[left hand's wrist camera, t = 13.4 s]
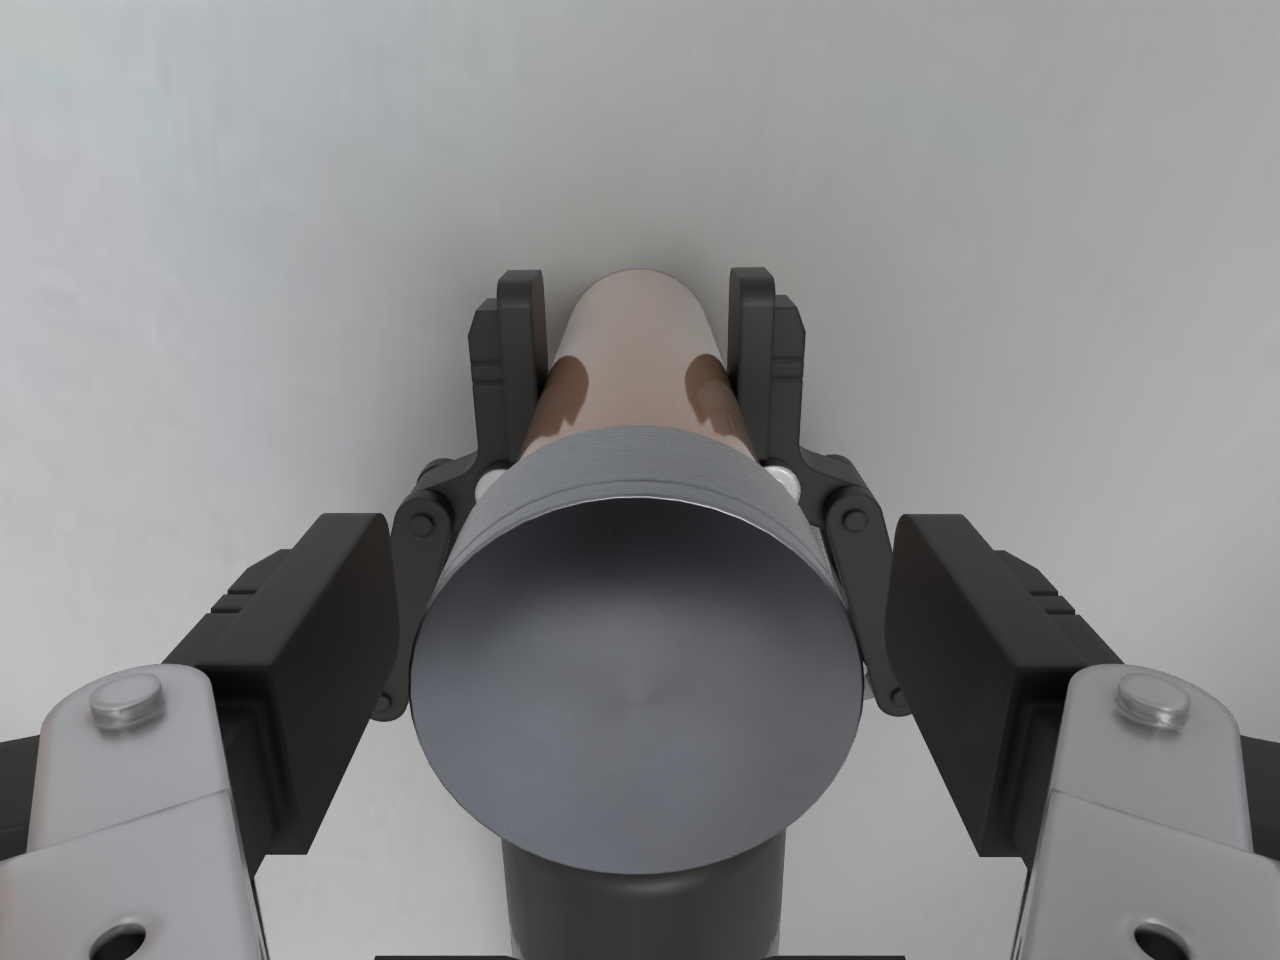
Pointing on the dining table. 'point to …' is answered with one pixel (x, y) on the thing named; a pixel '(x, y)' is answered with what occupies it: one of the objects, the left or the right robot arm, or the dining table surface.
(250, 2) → the dining table surface
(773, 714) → the lid
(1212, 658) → the dining table surface
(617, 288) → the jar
